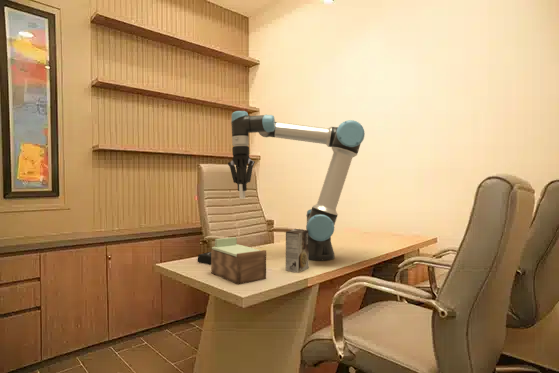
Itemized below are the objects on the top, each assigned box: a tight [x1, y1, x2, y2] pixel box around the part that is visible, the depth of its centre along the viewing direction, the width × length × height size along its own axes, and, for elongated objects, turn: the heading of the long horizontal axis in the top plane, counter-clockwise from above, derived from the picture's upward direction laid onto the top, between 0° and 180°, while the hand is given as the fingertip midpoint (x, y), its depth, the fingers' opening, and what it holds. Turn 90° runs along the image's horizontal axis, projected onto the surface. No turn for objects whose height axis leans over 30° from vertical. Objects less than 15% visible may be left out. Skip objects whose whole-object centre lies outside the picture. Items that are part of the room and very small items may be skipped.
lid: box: [211, 236, 261, 257], centre depth 133 cm, size 18×12×4 cm, turn 39°
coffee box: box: [285, 228, 309, 273], centre depth 143 cm, size 9×6×16 cm
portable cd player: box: [197, 251, 211, 266], centre depth 157 cm, size 16×17×4 cm
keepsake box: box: [210, 249, 267, 285], centre depth 132 cm, size 20×12×10 cm, turn 39°
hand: (242, 198), depth 156 cm, fingers closed
